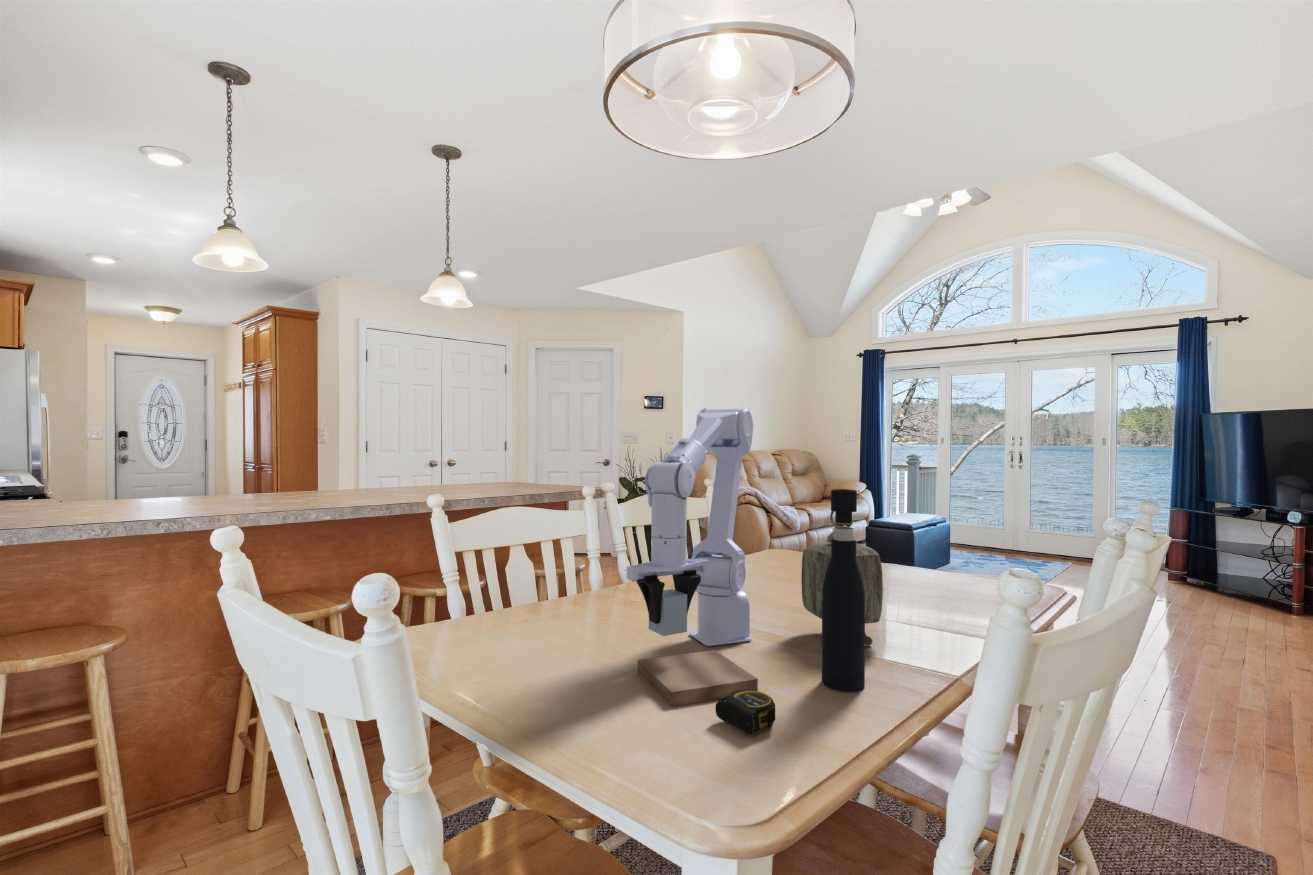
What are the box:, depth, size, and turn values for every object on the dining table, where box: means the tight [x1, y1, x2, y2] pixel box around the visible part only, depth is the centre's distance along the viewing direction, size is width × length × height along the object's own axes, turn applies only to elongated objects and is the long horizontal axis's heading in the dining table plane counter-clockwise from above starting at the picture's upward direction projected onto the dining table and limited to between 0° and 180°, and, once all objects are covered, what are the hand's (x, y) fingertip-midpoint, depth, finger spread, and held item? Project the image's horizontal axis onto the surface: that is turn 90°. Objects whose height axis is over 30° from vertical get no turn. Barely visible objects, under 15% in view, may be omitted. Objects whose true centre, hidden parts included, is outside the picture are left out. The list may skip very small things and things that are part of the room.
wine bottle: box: [821, 488, 866, 693], centre depth 98 cm, size 6×6×30 cm
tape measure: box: [714, 690, 776, 736], centre depth 83 cm, size 7×7×4 cm
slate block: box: [648, 588, 688, 637], centre depth 103 cm, size 4×4×6 cm
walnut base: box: [636, 649, 759, 707], centre depth 98 cm, size 14×14×2 cm
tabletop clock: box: [800, 510, 884, 646], centre depth 121 cm, size 14×9×25 cm, turn 17°
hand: (668, 619), depth 102 cm, fingers closed on slate block, 4 cm apart
